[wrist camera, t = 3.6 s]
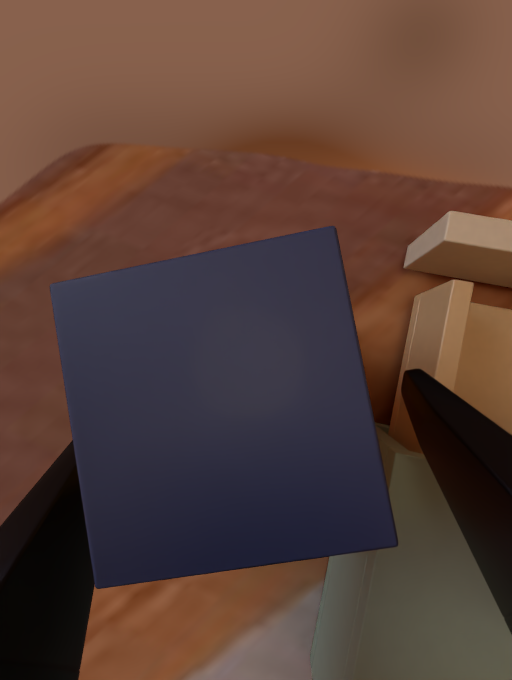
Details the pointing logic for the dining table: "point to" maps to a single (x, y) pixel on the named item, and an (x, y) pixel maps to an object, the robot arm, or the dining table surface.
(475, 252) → the drawer
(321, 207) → the dining table surface
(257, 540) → the carton
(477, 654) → the cabinet
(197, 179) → the dining table surface
